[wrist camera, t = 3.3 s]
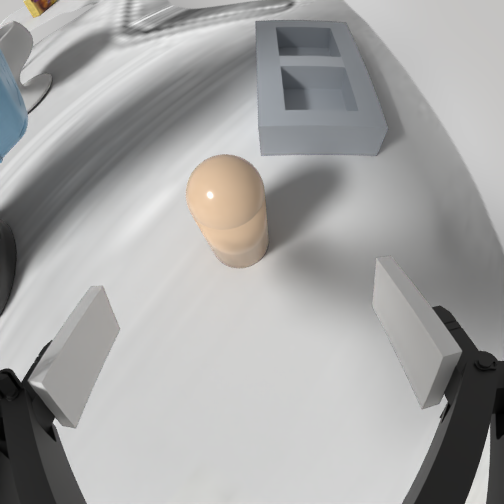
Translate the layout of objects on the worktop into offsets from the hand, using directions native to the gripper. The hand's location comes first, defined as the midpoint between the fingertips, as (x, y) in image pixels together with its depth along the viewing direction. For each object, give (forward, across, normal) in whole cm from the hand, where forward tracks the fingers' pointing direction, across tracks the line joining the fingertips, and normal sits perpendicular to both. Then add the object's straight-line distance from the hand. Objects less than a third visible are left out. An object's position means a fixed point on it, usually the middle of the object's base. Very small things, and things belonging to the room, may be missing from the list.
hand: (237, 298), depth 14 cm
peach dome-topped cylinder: (+14, -1, -3) cm, 14 cm away
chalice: (+36, -37, +20) cm, 55 cm away
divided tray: (+26, +9, +10) cm, 30 cm away
